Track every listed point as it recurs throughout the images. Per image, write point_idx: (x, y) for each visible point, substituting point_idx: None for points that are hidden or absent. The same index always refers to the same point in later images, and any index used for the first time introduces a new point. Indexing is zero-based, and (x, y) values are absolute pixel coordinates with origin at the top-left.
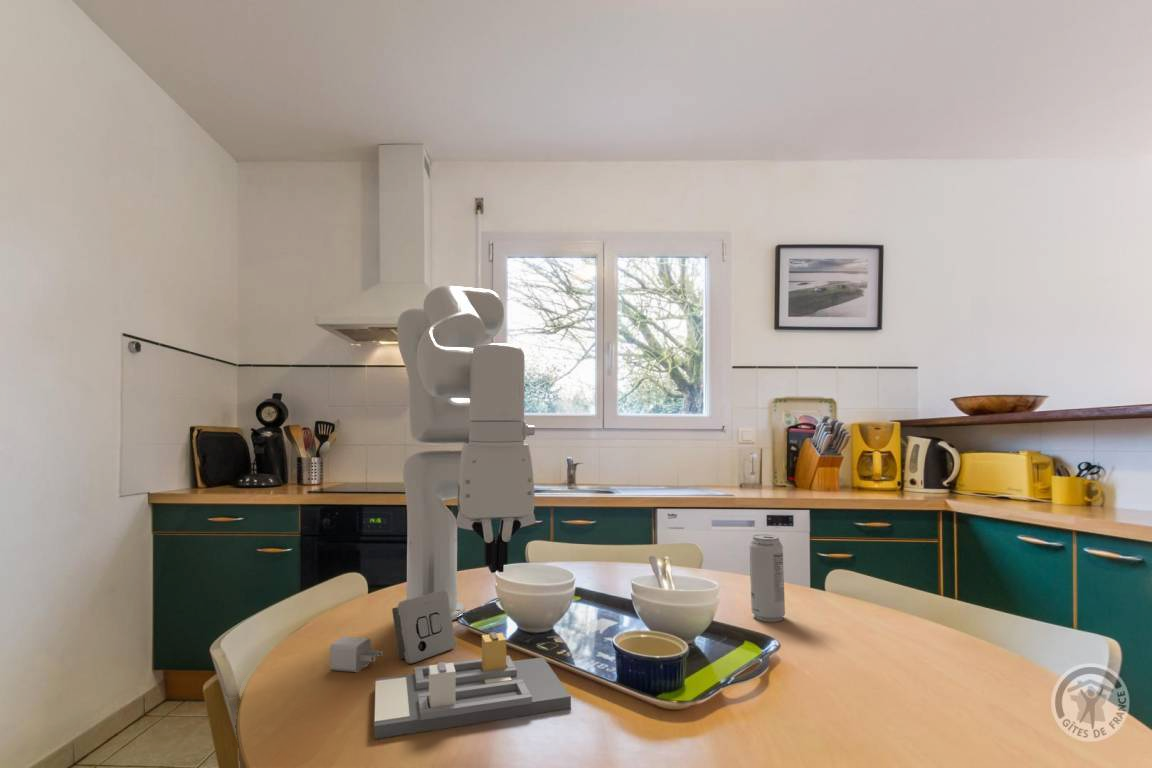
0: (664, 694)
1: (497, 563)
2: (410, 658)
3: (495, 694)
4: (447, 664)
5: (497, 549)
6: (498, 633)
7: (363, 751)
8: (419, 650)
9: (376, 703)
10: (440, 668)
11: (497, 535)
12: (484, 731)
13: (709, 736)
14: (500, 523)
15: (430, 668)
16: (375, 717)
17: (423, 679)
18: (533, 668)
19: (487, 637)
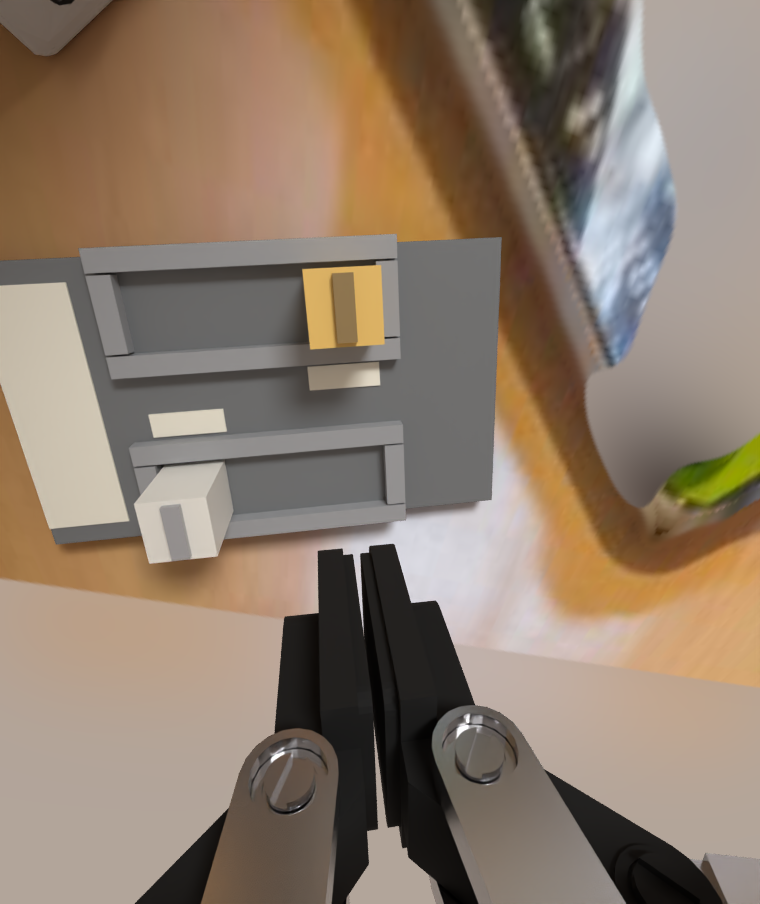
0: (681, 471)
1: (368, 668)
2: (36, 47)
3: (329, 455)
4: (190, 509)
5: (379, 752)
6: (366, 269)
7: (60, 566)
8: (57, 3)
9: (24, 441)
10: (172, 550)
11: (407, 797)
12: (298, 540)
13: (654, 618)
14: (486, 898)
15: (142, 525)
16: (46, 511)
17: (128, 358)
18: (451, 318)
19: (321, 302)
